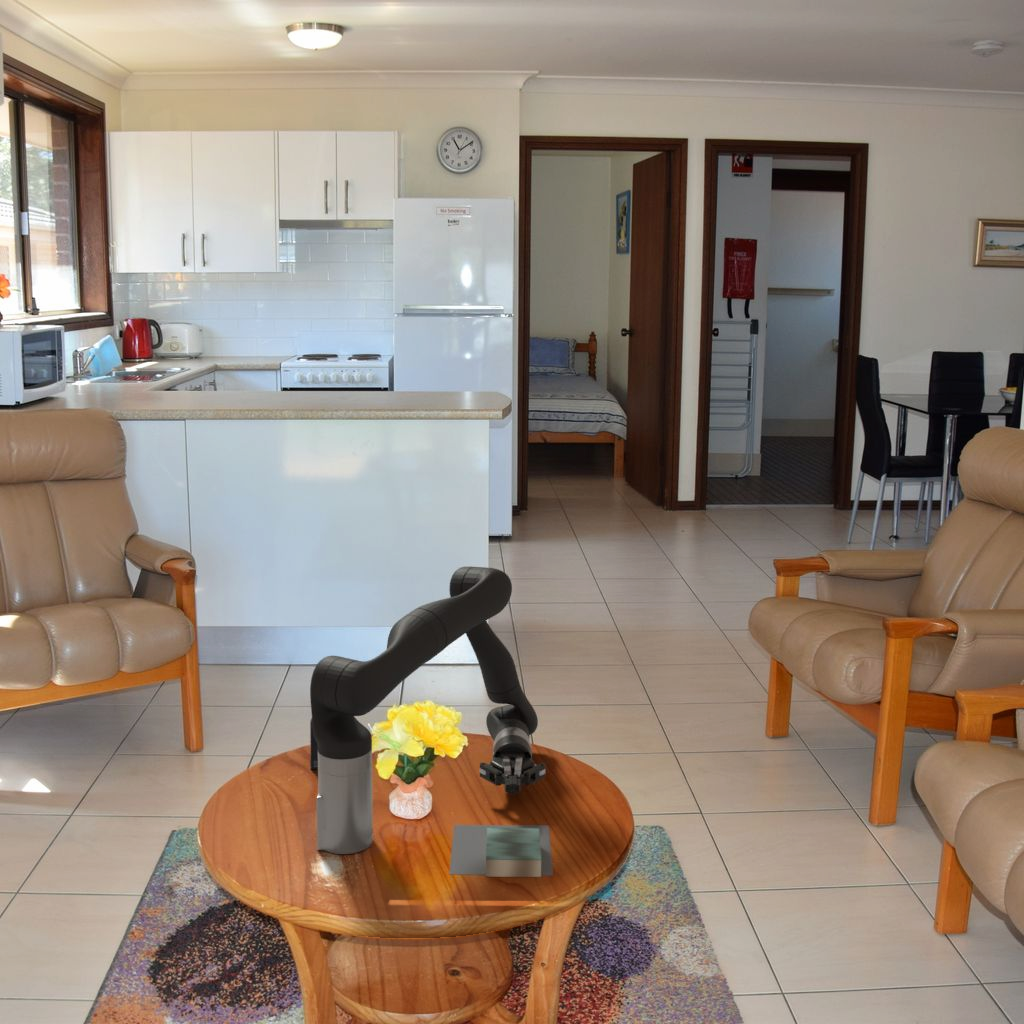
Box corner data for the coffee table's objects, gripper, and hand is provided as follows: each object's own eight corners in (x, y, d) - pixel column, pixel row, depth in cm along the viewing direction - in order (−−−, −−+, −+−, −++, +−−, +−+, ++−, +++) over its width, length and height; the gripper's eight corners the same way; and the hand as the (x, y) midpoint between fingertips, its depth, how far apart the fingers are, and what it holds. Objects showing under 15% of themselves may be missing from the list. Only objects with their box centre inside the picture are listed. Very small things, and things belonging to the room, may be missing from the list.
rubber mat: (449, 877, 191) (449, 874, 191) (454, 827, 209) (454, 824, 209) (552, 878, 191) (552, 875, 191) (548, 828, 209) (548, 825, 209)
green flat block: (486, 844, 201) (485, 876, 190) (487, 828, 201) (486, 858, 190) (538, 845, 201) (540, 876, 191) (539, 828, 201) (541, 859, 190)
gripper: (478, 733, 226) (476, 769, 209) (546, 734, 226) (549, 770, 209) (478, 770, 227) (475, 809, 210) (545, 770, 227) (549, 809, 210)
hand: (512, 789), depth 210 cm, fingers closed
